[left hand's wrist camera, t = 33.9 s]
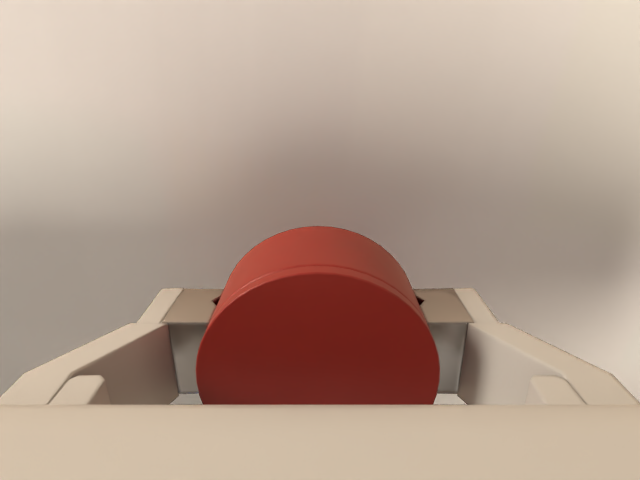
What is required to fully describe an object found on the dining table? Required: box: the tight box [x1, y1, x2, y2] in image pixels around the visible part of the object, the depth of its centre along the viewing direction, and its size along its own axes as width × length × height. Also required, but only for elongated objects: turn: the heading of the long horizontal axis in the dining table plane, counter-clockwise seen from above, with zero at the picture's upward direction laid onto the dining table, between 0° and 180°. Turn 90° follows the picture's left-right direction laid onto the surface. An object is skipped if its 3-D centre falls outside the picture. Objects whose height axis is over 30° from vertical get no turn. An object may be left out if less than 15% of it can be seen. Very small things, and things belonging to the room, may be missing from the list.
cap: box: [196, 226, 440, 405], centre depth 9 cm, size 5×5×2 cm
